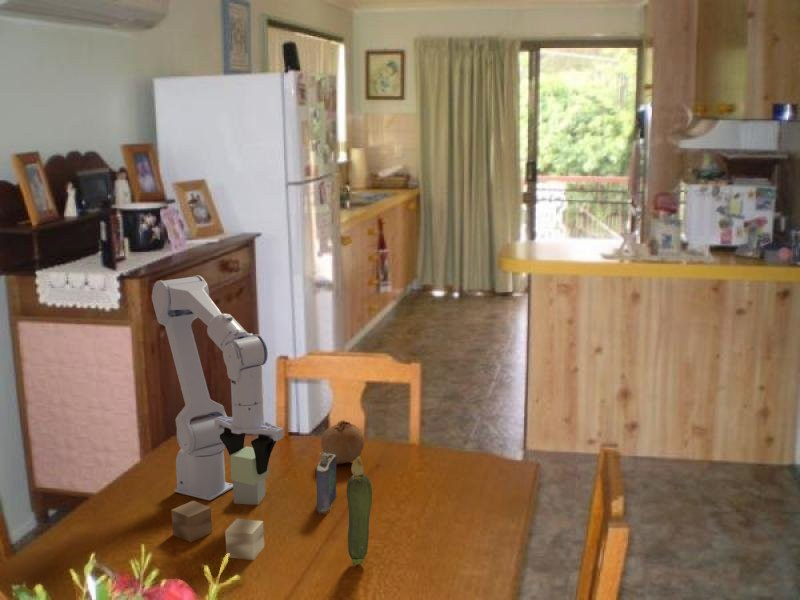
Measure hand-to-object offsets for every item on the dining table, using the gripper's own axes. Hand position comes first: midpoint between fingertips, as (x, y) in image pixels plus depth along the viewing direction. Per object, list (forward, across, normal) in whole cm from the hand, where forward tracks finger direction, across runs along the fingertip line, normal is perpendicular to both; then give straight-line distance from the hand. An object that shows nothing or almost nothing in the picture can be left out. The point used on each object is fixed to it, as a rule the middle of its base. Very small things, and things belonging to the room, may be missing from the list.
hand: (250, 469), depth 168 cm
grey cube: (+10, -6, +7) cm, 14 cm away
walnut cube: (+10, -6, -10) cm, 15 cm away
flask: (+10, +9, +12) cm, 18 cm away
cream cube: (+10, +7, -11) cm, 16 cm away
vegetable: (+10, +27, -5) cm, 29 cm away
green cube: (+2, 0, 0) cm, 2 cm away
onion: (+10, +1, +31) cm, 33 cm away
